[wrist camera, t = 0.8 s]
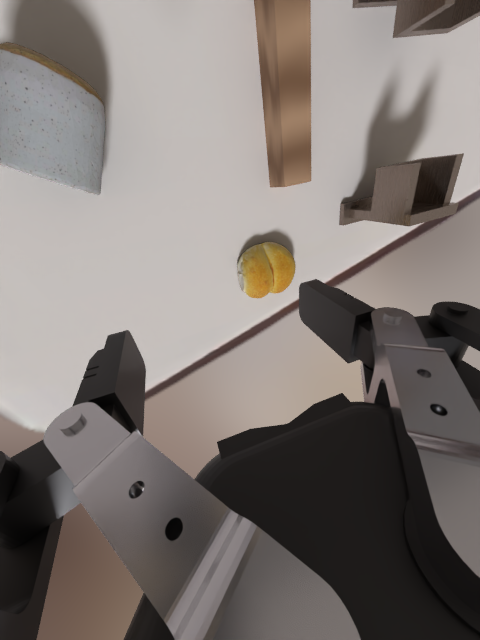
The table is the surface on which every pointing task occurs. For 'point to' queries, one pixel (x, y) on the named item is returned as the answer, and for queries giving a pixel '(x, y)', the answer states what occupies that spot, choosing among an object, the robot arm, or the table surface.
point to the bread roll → (265, 269)
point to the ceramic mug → (49, 121)
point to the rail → (286, 87)
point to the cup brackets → (422, 174)
